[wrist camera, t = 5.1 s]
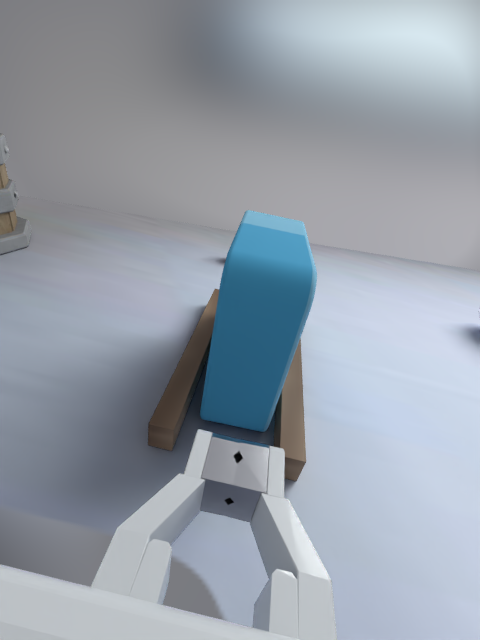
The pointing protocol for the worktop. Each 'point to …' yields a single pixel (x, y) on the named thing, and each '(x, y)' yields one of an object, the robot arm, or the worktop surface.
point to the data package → (258, 320)
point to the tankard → (10, 210)
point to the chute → (185, 381)
